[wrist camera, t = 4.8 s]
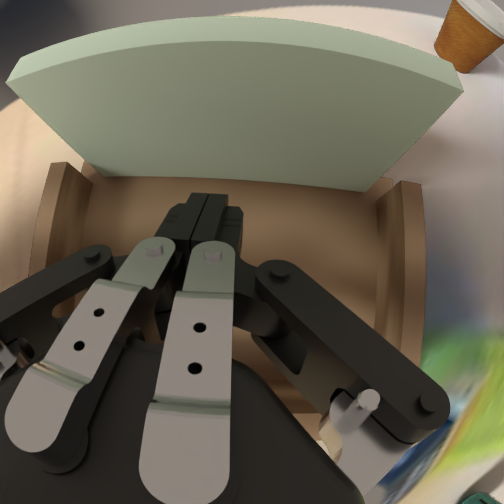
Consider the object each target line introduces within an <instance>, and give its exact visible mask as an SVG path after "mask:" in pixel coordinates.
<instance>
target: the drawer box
mask: <svg viewBox="0 0 504 504" xmlns="http://www.w3.org/2000/svg"><path fill="white" fill-rule="evenodd" d="M192 192H197V193H209V194H210V193H217V194H228V206H238V207H240V208H241V210H242V211H243V213H244V216H243V236H242V248H241V255H240V258H241V259H242V260H243V261H245V262H246V263H248V264H250V265H253V266H256V267H258V266H259V265H260V264H262V263H263V262H265V261H268V260H285V261H288V262H291V263H293V264H295V265H296V266H297V267H299V268H300V269H301V270H302V271H304V272H305V273H306V274H307V275H309V276H310V277H311V278H312V279H313V280H315V281H316V282H317V283H318V284H320V285H321V286H322V287H323V288H324V289H326V290H327V291H328V292H329V293H330V294H332V295H333V296H334V297H335V298H337V299H338V300H339V301H340V302H341V303H343V304H344V305H345V306H346V307H347V308H349V309H350V310H351V311H352V312H353V313H355V314H356V315H357V316H358V317H359V318H361V319H362V320H363V321H364V322H365V323H367V324H368V325H369V326H370V327H371V328H373V329H374V330H375V331H376V332H377V333H379V334H380V335H381V336H382V337H383V338H384V339H386V340H387V341H388V342H389V343H390V344H392V345H393V346H394V347H395V348H396V349H397V350H399V351H400V352H401V353H402V354H403V355H405V356H406V357H407V358H408V359H409V360H410V361H412V362H413V363H414V364H415V365H416V366H417V367H419V366H420V358H421V350H422V341H423V330H424V316H425V297H426V243H425V223H424V210H423V199H422V189H421V184H417V183H412V182H407V181H402V180H401V181H400V182H398V183H397V184H396V185H395V186H394V187H393V183H392V179H391V178H385V177H380V178H379V179H378V180H377V181H376V182H375V183H374V184H373V185H372V186H371V187H370V188H369V189H368V190H367V191H366V192H365V193H364V192H357V191H350V190H342V189H334V188H325V187H317V186H307V185H298V184H287V183H276V182H264V181H251V180H236V179H218V178H196V177H159V176H112V177H103V176H102V175H101V174H100V173H99V172H98V171H96V170H95V169H94V168H93V167H92V166H91V165H90V164H89V163H88V162H87V161H84V163H83V167H82V171H81V173H80V172H79V171H78V170H76V169H75V168H74V167H73V166H71V165H70V164H69V163H68V162H59V163H51V165H50V169H49V172H48V176H47V179H46V183H45V187H44V191H43V195H42V199H41V203H40V207H39V212H38V217H37V222H36V227H35V232H34V238H33V244H32V251H31V258H30V266H29V275H28V277H30V276H32V275H33V274H35V273H37V272H39V271H41V270H43V269H45V268H46V267H48V266H50V265H52V264H54V263H56V262H58V261H60V260H62V259H64V258H66V257H68V256H70V255H72V254H74V253H76V252H78V251H80V250H82V249H84V248H86V247H88V246H91V245H97V244H101V245H106V246H108V247H109V248H110V249H111V251H112V255H113V257H115V256H123V255H130V253H131V252H132V251H133V249H134V248H135V247H136V245H137V244H138V243H140V242H141V241H143V240H145V239H147V238H151V237H154V235H155V233H156V232H157V230H158V228H159V227H160V225H161V223H162V222H163V220H164V218H165V217H166V215H167V213H168V211H169V210H170V208H172V207H173V206H175V205H176V204H178V203H186V201H187V200H188V198H189V196H190V194H191V193H192ZM84 296H85V291H84V290H83V291H81V292H79V293H77V294H76V295H74V296H72V297H70V298H68V299H67V300H65V301H63V302H61V303H60V304H58V305H56V306H55V307H54V309H53V311H52V315H53V316H54V317H55V318H61V317H63V316H65V315H67V314H68V313H70V312H72V311H74V310H75V309H76V307H77V306H78V304H79V303H80V301H81V300H82V299H83V297H84ZM232 359H235V360H237V361H239V362H241V363H243V364H245V365H247V366H248V367H250V368H251V369H253V370H254V371H255V372H257V373H258V374H259V375H260V376H261V377H262V378H263V379H264V380H265V381H266V383H267V384H268V385H269V386H270V388H271V389H272V390H273V391H274V393H275V394H276V395H277V396H278V397H279V399H280V400H281V401H282V402H283V404H284V405H285V406H286V407H287V408H288V410H289V411H290V412H291V413H292V414H293V416H294V417H295V418H296V419H297V420H298V421H299V423H300V424H301V425H302V426H303V427H304V428H305V430H306V431H307V432H308V433H309V434H310V435H311V437H312V438H313V439H314V440H322V439H321V437H320V434H319V423H320V420H321V418H322V417H323V416H322V415H321V414H320V413H319V412H318V411H317V410H316V409H315V408H314V407H313V406H312V405H311V404H310V403H309V402H308V401H307V399H306V398H305V397H304V396H303V395H302V394H301V393H300V392H299V391H298V390H297V389H296V388H295V387H294V386H293V385H292V383H291V382H290V381H289V380H288V379H287V378H286V377H285V376H284V375H283V374H282V373H281V371H280V370H279V369H278V368H277V367H276V366H275V365H274V364H273V363H272V361H271V360H270V359H269V358H268V357H267V356H266V355H265V354H264V352H263V351H262V350H261V349H260V348H259V347H258V346H257V345H256V343H255V342H254V341H253V340H252V337H251V332H248V331H245V330H242V329H240V328H237V327H234V326H233V350H232Z"/></svg>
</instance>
